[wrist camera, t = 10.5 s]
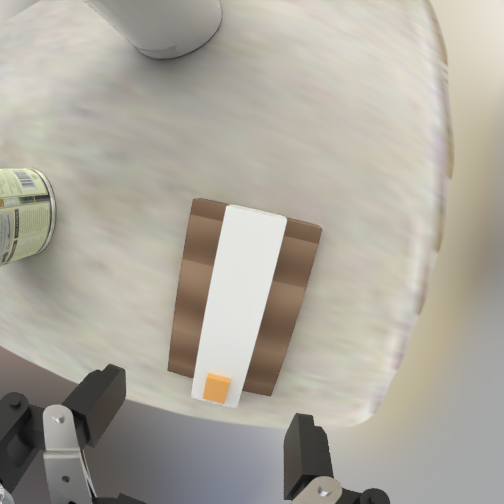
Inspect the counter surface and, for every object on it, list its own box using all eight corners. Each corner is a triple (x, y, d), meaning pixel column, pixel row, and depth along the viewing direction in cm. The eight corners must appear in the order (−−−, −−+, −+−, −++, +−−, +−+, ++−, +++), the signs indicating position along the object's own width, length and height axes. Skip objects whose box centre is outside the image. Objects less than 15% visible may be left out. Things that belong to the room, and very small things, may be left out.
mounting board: (201, 198, 24) (193, 198, 22) (317, 225, 24) (322, 228, 21) (175, 357, 27) (167, 370, 25) (271, 381, 27) (270, 396, 25)
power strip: (236, 203, 23) (224, 206, 18) (284, 214, 23) (287, 221, 18) (202, 366, 27) (188, 401, 21) (242, 376, 27) (235, 413, 21)
